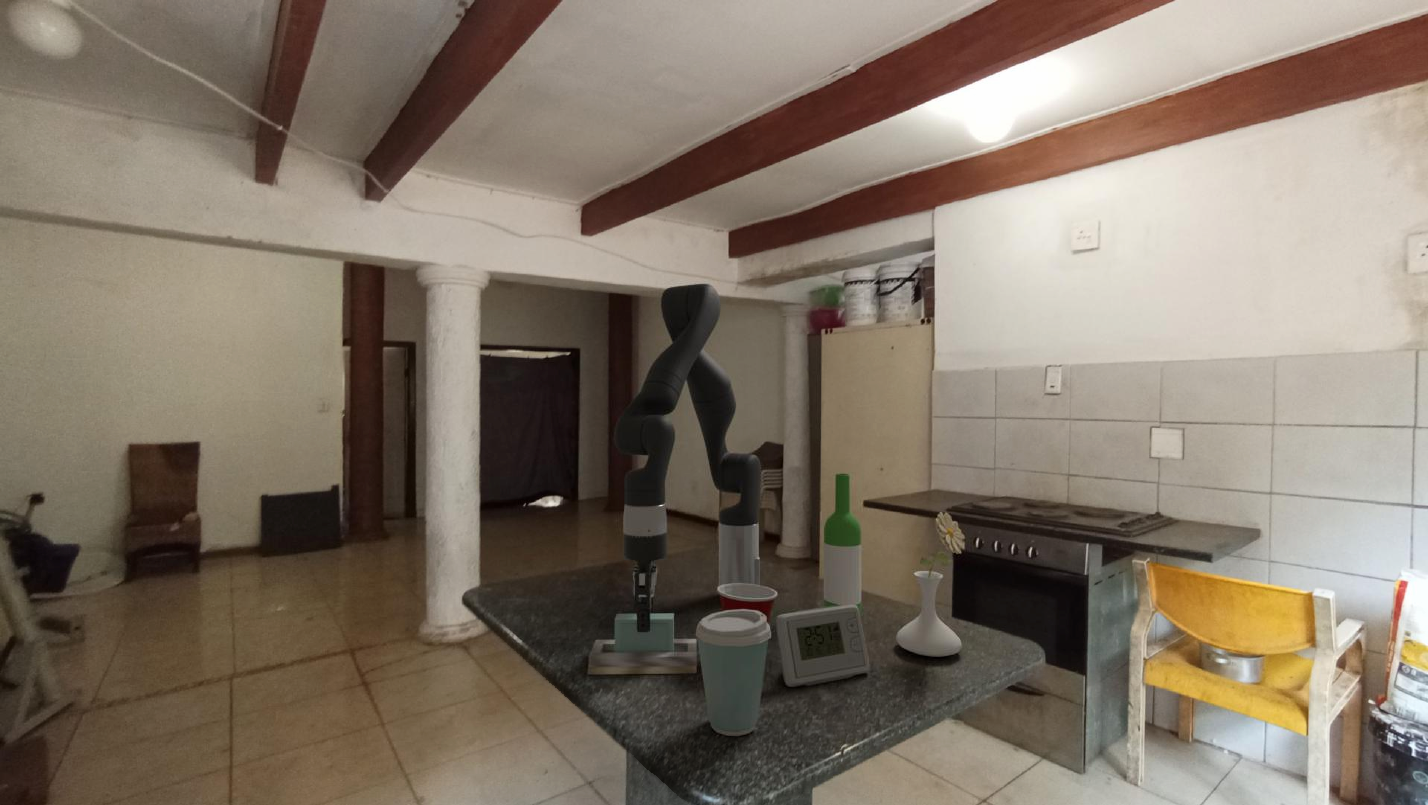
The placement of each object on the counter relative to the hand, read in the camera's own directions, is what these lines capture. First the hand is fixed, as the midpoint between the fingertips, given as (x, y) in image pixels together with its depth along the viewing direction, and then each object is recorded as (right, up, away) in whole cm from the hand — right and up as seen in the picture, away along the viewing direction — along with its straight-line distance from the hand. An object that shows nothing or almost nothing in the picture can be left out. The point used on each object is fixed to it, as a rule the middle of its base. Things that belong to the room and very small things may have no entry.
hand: (645, 622), depth 110 cm
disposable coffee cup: (+15, -7, -22) cm, 27 cm away
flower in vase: (+52, -7, +5) cm, 52 cm away
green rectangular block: (0, -6, 0) cm, 6 cm away
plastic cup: (+18, -7, +2) cm, 19 cm away
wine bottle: (+39, -7, +24) cm, 46 cm away
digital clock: (+30, -7, -6) cm, 31 cm away
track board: (0, -7, 0) cm, 7 cm away
